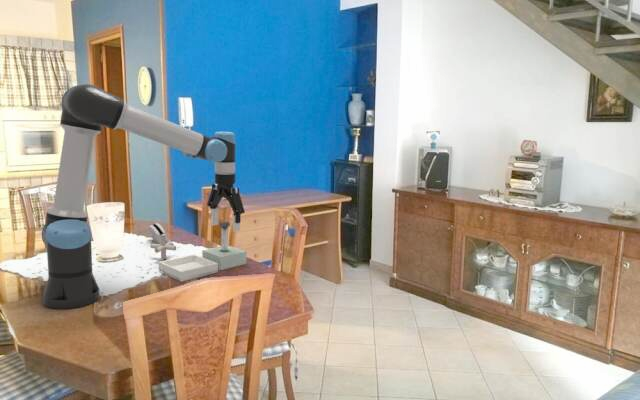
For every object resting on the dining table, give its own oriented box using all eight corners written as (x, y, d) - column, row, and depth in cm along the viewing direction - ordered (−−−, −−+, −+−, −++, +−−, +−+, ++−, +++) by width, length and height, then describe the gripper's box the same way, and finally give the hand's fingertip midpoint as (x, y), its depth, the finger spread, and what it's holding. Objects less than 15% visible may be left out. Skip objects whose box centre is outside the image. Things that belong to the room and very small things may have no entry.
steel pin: (223, 265, 181) (223, 224, 178) (217, 263, 184) (217, 222, 181) (231, 263, 184) (232, 222, 181) (225, 261, 186) (225, 221, 184)
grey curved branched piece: (174, 247, 203) (166, 226, 200) (164, 251, 201) (155, 231, 197) (164, 238, 217) (156, 218, 213) (154, 242, 215) (146, 223, 211)
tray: (181, 281, 162) (181, 271, 161) (158, 271, 171) (158, 261, 171) (217, 272, 173) (217, 263, 172) (194, 263, 182) (194, 254, 182)
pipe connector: (168, 264, 179) (168, 238, 178) (145, 261, 181) (144, 236, 180) (181, 257, 189) (181, 233, 187) (158, 254, 191) (158, 230, 189)
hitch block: (220, 270, 175) (220, 257, 175) (202, 262, 183) (202, 250, 182) (246, 263, 184) (246, 251, 183) (227, 257, 192) (227, 245, 191)
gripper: (254, 176, 172) (253, 232, 176) (213, 169, 189) (214, 221, 192) (237, 177, 167) (237, 235, 171) (197, 170, 183) (198, 223, 187)
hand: (225, 228), depth 181 cm, fingers open, 13 cm apart
